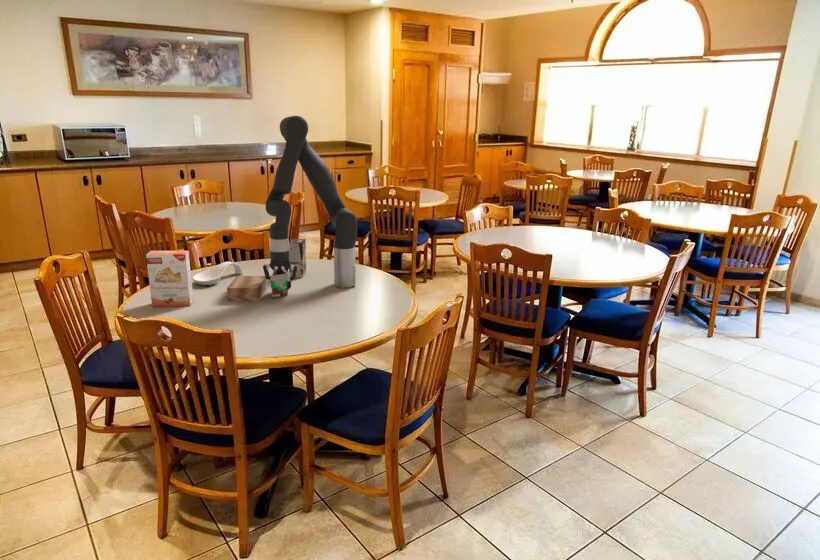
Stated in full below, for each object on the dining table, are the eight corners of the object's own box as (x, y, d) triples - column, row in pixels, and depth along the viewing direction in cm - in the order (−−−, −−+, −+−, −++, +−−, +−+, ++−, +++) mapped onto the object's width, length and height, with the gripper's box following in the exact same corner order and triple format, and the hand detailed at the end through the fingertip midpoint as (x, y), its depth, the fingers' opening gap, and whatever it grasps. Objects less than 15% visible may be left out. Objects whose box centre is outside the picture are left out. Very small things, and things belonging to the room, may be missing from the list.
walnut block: (266, 289, 228) (265, 275, 226) (258, 302, 213) (257, 287, 211) (237, 289, 227) (236, 275, 225) (228, 302, 212) (226, 287, 210)
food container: (286, 300, 215) (285, 276, 212) (271, 299, 215) (270, 275, 212) (293, 290, 227) (292, 267, 224) (279, 289, 227) (278, 267, 224)
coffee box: (303, 278, 243) (301, 243, 238) (289, 277, 243) (287, 242, 239) (307, 272, 252) (306, 238, 247) (293, 271, 252) (292, 238, 247)
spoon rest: (206, 290, 225) (204, 273, 223) (187, 285, 230) (185, 269, 228) (248, 276, 244) (247, 261, 242) (230, 272, 250) (229, 257, 248)
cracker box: (151, 307, 203) (144, 254, 197) (156, 302, 209) (149, 250, 203) (190, 306, 205) (185, 253, 199) (194, 301, 211) (188, 249, 205)
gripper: (299, 247, 219) (300, 286, 224) (263, 246, 218) (265, 286, 223) (296, 251, 212) (297, 292, 217) (259, 250, 211) (261, 291, 216)
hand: (281, 288), depth 220 cm, fingers closed on food container, 5 cm apart
